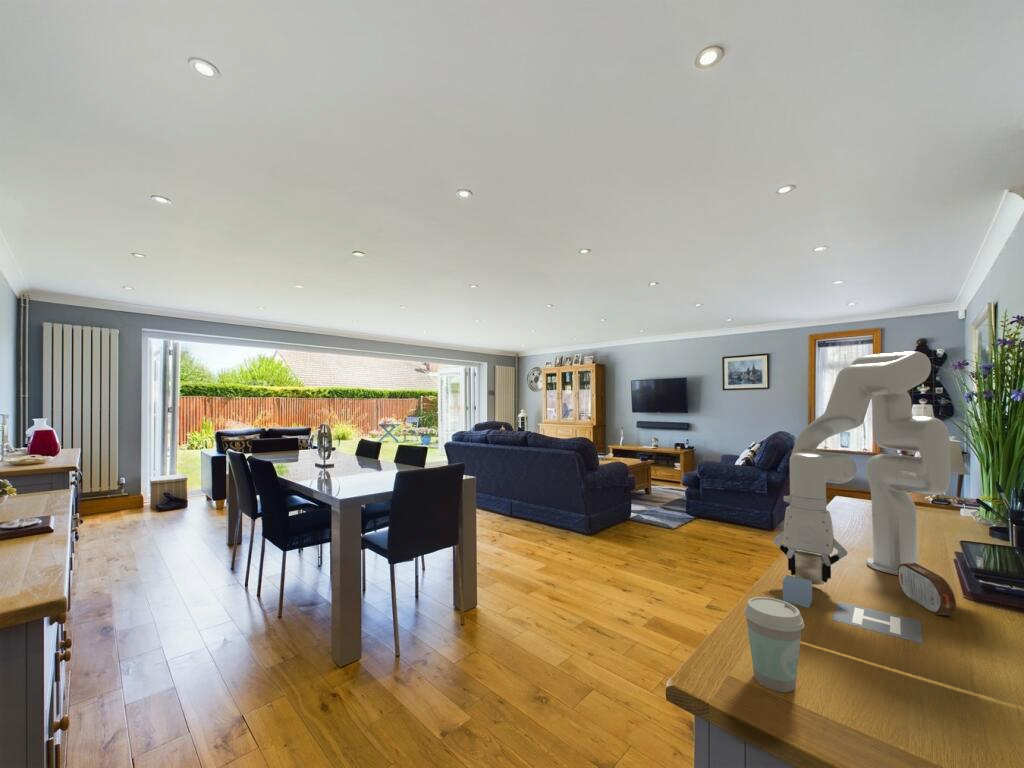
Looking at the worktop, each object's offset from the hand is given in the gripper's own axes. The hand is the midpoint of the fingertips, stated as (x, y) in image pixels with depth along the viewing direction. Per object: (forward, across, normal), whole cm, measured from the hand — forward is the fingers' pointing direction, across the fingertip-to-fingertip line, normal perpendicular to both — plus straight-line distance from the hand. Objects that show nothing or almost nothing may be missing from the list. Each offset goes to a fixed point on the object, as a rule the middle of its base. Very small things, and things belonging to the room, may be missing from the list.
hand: (809, 576), depth 110 cm
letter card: (+3, +13, -11) cm, 17 cm away
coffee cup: (+3, +1, -48) cm, 48 cm away
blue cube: (+3, -1, -11) cm, 11 cm away
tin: (+3, +21, +6) cm, 22 cm away
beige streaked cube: (+1, 0, 0) cm, 1 cm away
